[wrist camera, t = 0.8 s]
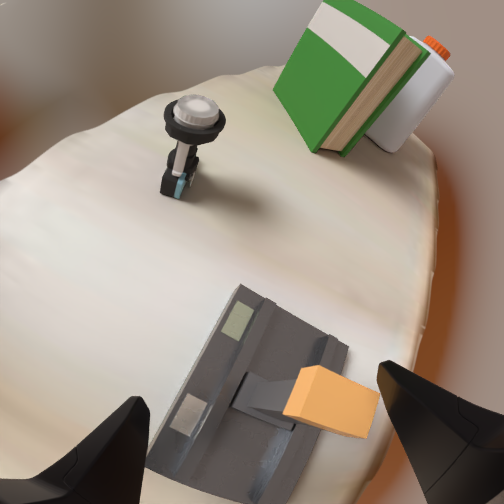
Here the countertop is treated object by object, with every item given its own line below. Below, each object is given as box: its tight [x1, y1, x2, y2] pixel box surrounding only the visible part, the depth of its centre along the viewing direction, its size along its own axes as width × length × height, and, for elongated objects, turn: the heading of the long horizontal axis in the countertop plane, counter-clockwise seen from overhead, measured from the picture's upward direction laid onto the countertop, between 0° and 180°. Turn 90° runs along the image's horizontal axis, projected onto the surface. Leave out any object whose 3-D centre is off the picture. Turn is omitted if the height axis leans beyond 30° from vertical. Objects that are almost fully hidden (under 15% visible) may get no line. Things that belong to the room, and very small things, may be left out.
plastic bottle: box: [365, 36, 455, 153], centre depth 43 cm, size 15×15×28 cm
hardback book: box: [273, 0, 431, 157], centre depth 34 cm, size 18×7×24 cm, turn 18°
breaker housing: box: [145, 284, 349, 504], centre depth 19 cm, size 17×12×3 cm
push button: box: [160, 95, 226, 199], centre depth 24 cm, size 7×5×10 cm
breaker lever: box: [229, 365, 380, 439], centre depth 15 cm, size 3×5×10 cm, turn 65°
